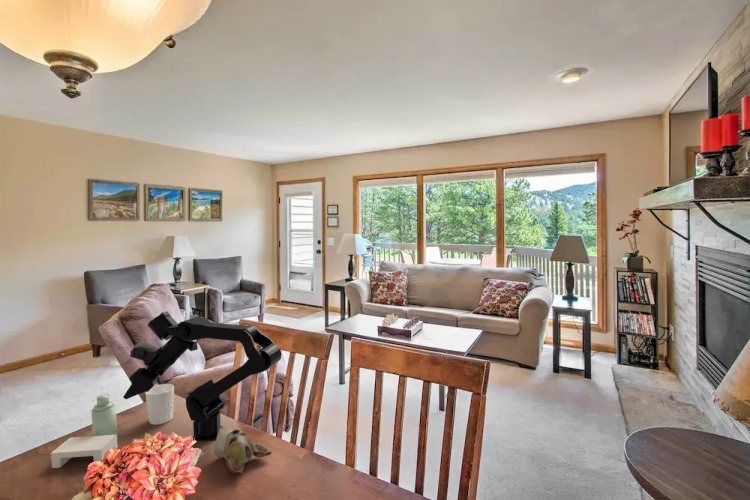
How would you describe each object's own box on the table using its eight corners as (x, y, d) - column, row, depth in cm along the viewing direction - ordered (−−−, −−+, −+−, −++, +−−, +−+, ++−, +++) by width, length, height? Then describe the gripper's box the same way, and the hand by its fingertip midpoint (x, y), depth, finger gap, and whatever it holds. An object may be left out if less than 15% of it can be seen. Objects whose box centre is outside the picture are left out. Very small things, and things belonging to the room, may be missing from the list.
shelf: (117, 448, 104) (116, 434, 104) (102, 464, 97) (101, 449, 97) (71, 451, 103) (70, 437, 102) (52, 468, 96) (50, 453, 95)
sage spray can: (121, 433, 111) (118, 391, 110) (110, 444, 106) (107, 400, 105) (101, 435, 111) (98, 392, 110) (88, 446, 105) (85, 401, 104)
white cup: (166, 426, 115) (164, 394, 115) (141, 426, 115) (139, 394, 115) (180, 413, 123) (178, 383, 123) (156, 413, 123) (155, 383, 123)
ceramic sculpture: (236, 412, 105) (273, 431, 97) (236, 441, 106) (273, 462, 98) (201, 431, 96) (239, 452, 88) (202, 462, 97) (239, 486, 89)
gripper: (160, 324, 118) (122, 361, 116) (136, 343, 100) (91, 387, 98) (188, 347, 120) (151, 384, 118) (169, 370, 102) (126, 413, 100)
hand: (131, 390), depth 109 cm, fingers open, 9 cm apart
